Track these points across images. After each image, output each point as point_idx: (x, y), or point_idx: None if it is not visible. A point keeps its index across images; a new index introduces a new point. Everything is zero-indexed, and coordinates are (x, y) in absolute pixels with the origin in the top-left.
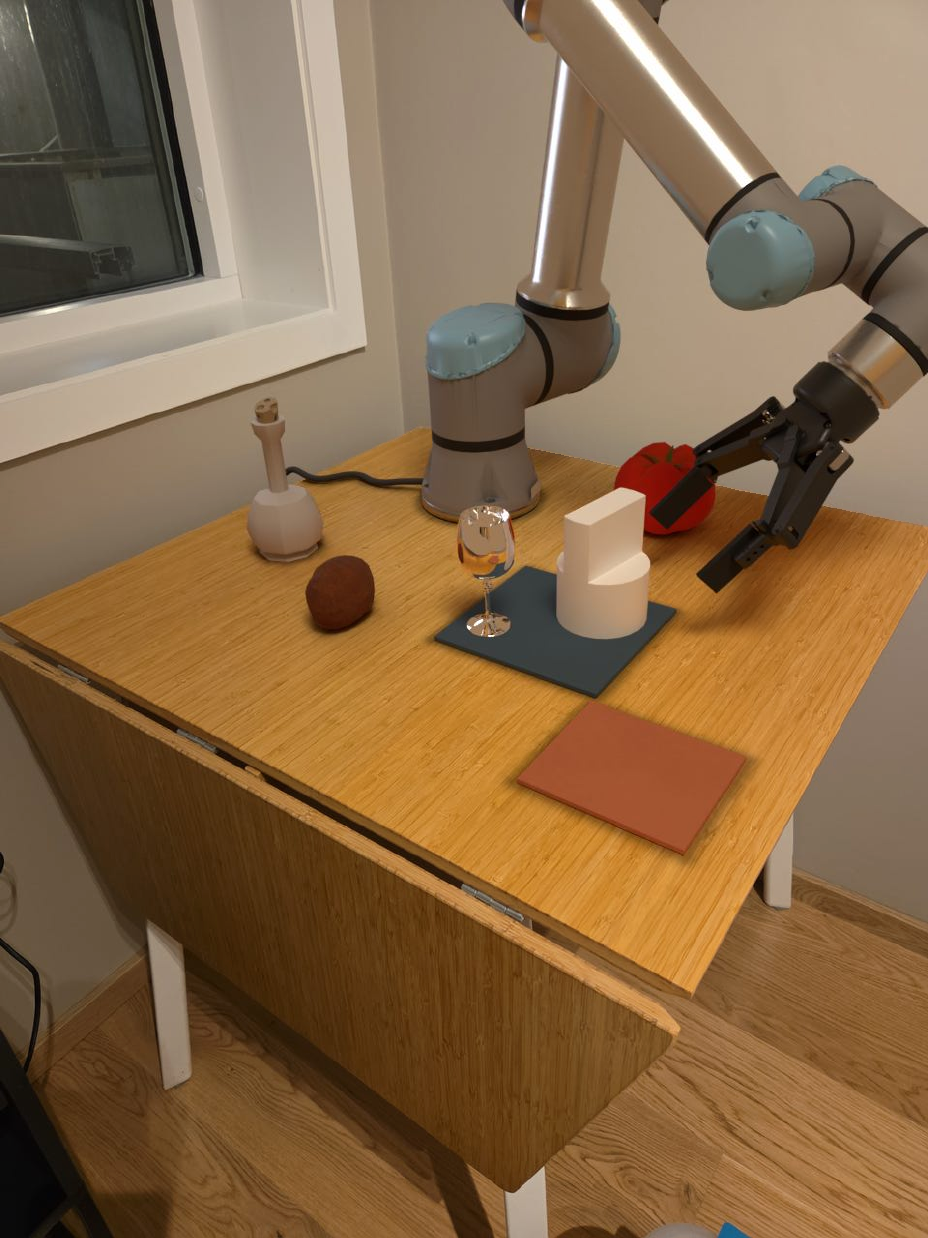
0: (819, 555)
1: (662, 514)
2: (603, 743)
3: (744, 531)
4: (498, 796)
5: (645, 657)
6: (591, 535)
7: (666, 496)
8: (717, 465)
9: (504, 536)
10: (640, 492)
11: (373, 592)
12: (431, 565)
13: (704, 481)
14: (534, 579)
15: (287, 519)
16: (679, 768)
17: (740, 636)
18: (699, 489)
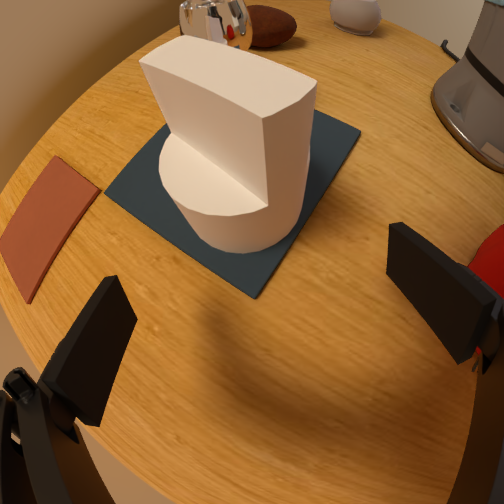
0: (394, 496)
1: (396, 249)
2: (57, 200)
3: (57, 362)
4: (54, 150)
5: (156, 245)
6: (148, 77)
7: (425, 243)
8: (492, 370)
9: (184, 23)
10: (498, 245)
11: (259, 36)
12: (350, 75)
13: (461, 336)
14: (330, 135)
15: (337, 1)
16: (27, 251)
17: (189, 373)
18: (446, 326)
